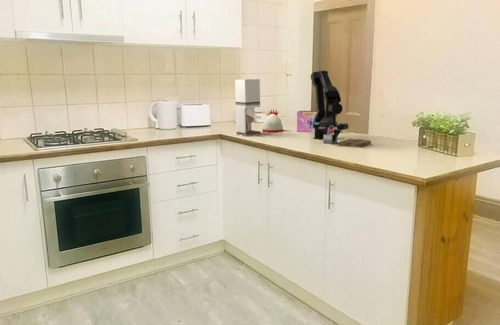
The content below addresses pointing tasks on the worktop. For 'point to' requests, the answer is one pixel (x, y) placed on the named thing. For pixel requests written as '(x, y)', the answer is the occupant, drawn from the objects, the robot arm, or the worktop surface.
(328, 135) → the block
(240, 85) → the coffee grinder
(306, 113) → the gum box
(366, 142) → the walnut stand
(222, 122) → the worktop surface
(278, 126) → the white dome
